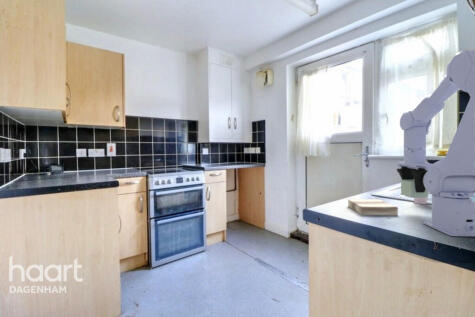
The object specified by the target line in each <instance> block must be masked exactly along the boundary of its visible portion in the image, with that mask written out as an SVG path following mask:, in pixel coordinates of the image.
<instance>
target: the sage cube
mask: <svg viewBox="0 0 475 317" xmlns="http://www.w3.org/2000/svg"><path fill="white" fill-rule="evenodd" d="M400 180H401V181H400V194H401V196H405V197H408V198H411V199H412V198H413V199H414V198H429V194H428V191H427V190H426V189H425V192H416V189H415V181H414V180H402V179H400Z"/></svg>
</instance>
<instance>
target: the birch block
mask: <svg viewBox="0 0 475 317" xmlns="http://www.w3.org/2000/svg"><path fill="white" fill-rule="evenodd" d="M347 200H348V203H347V205H348V207H349V208H351V209H352V210H354V211H356V212H357V213H358V214H360V215H362V216H398V214H399V210H398V209H399V208H398V206H396V205H394V204H391V203H389V202H386V201H385V200H381V199H379V198H377V199H375V198H374V199H370V198H367V199H366V198H365V199H363V198H360V199H357V198H355V199H354V198H353V199H351V198H350V199H347Z"/></svg>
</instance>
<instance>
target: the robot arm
mask: <svg viewBox="0 0 475 317" xmlns="http://www.w3.org/2000/svg"><path fill="white" fill-rule="evenodd" d="M445 73H446V74H445V76H444V78H443V79H442V80H441V82H440V83H439V84H438V85H437V87H436V88H435V89H434V91H433V92H432V93H431V94H427V95H424V96H423V97H422V98H421V99H420V101H419V102H418V103H417V104H416V105H415V106H414V108H412V110H408V111H405V112H402V115H401V117H400V119H399V127H400V129H401V130H403V161H397V163H396V164H397V167H398V168H396V171H397V173H398V175H399V176H400V180H414V181H415V189H416V192H425V189H426V190H427V191H428V192H429V194H428V195H431V221H423V222H422V223H423V224H424V225H426V226H428V227H430V228H432V229H435V230H437V231H439V232H441V233H444V234H446V235H448V236H450V237H475V201H473V200H472V199H471V198H474V196H475V49H471V50H470V49H464V50H460V51H459V52H457V53H455V55H454V56H453V57H452V58H451V59H450V61H449V63H448V64H447V66H446V72H445ZM459 90H461V91H463V92H465V93H468V95H469V101H468V103H467V104H466V108H465V111H464V113H463V114H462V117H461V119H460V122H459V124H458V126H457V129H456V131H455V133H454V135H453V138H452V140H451V142H450V144H449V148H448V150H447V151H446V154H445V157H443V158H441V159H439V160H438V161H436V162H434V163H430V162H426V161H427V135H428V134H429V132H430V131H429V129H430V127H431V125H432V119H434V117H436V116H437V115H438V114H439V113H440V112H441V111H442V110H444V108H445V101H446V100H448V99H449V98H450V97H452V96H453V95H454V94H455V93H456V92H457V91H459Z"/></svg>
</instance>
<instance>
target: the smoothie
mask: <svg viewBox="0 0 475 317" xmlns="http://www.w3.org/2000/svg"><path fill="white" fill-rule="evenodd" d="M428 195H430V194H429V192H428ZM428 198H429V197H428ZM428 198H413V202H414V204H419V205H427V203H428Z"/></svg>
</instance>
